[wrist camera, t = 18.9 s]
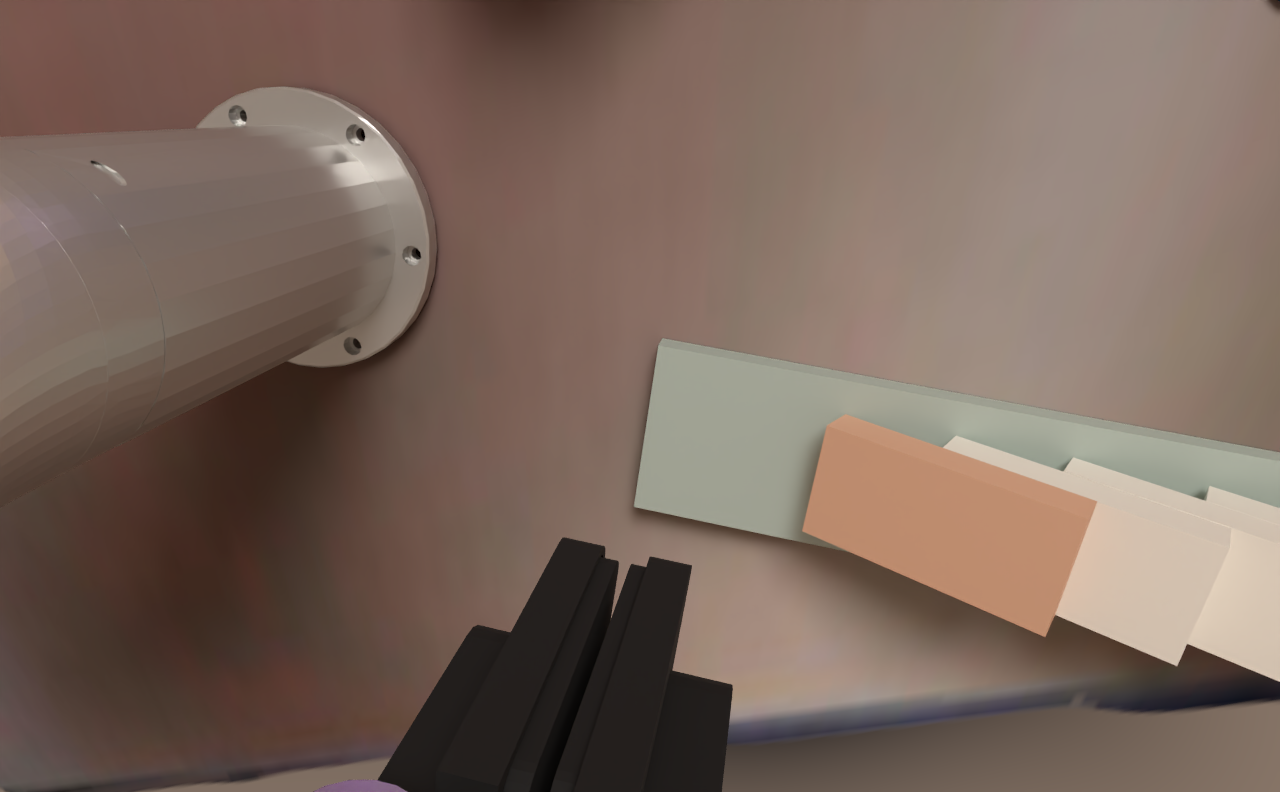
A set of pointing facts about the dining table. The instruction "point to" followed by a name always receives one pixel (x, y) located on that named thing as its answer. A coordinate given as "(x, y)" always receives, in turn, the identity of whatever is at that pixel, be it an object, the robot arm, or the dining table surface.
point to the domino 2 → (1130, 561)
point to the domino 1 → (948, 520)
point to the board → (814, 397)
